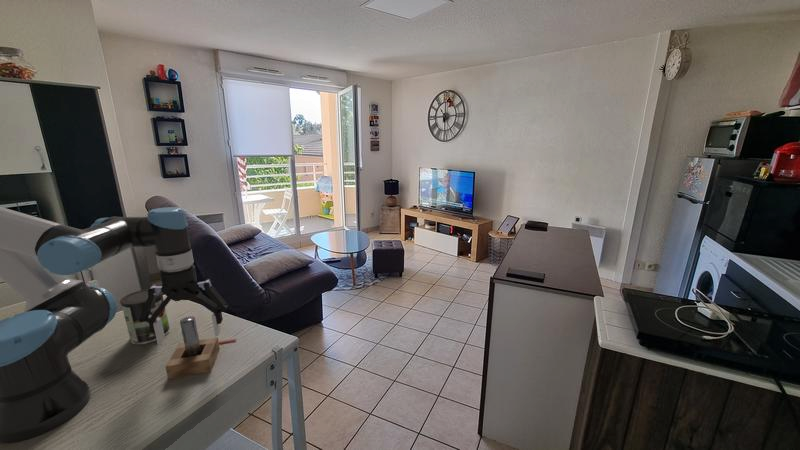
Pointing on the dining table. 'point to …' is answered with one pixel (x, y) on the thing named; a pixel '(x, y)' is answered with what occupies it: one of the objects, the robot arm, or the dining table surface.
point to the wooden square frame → (193, 359)
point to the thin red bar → (227, 341)
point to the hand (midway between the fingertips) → (190, 337)
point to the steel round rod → (190, 336)
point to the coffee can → (133, 311)
